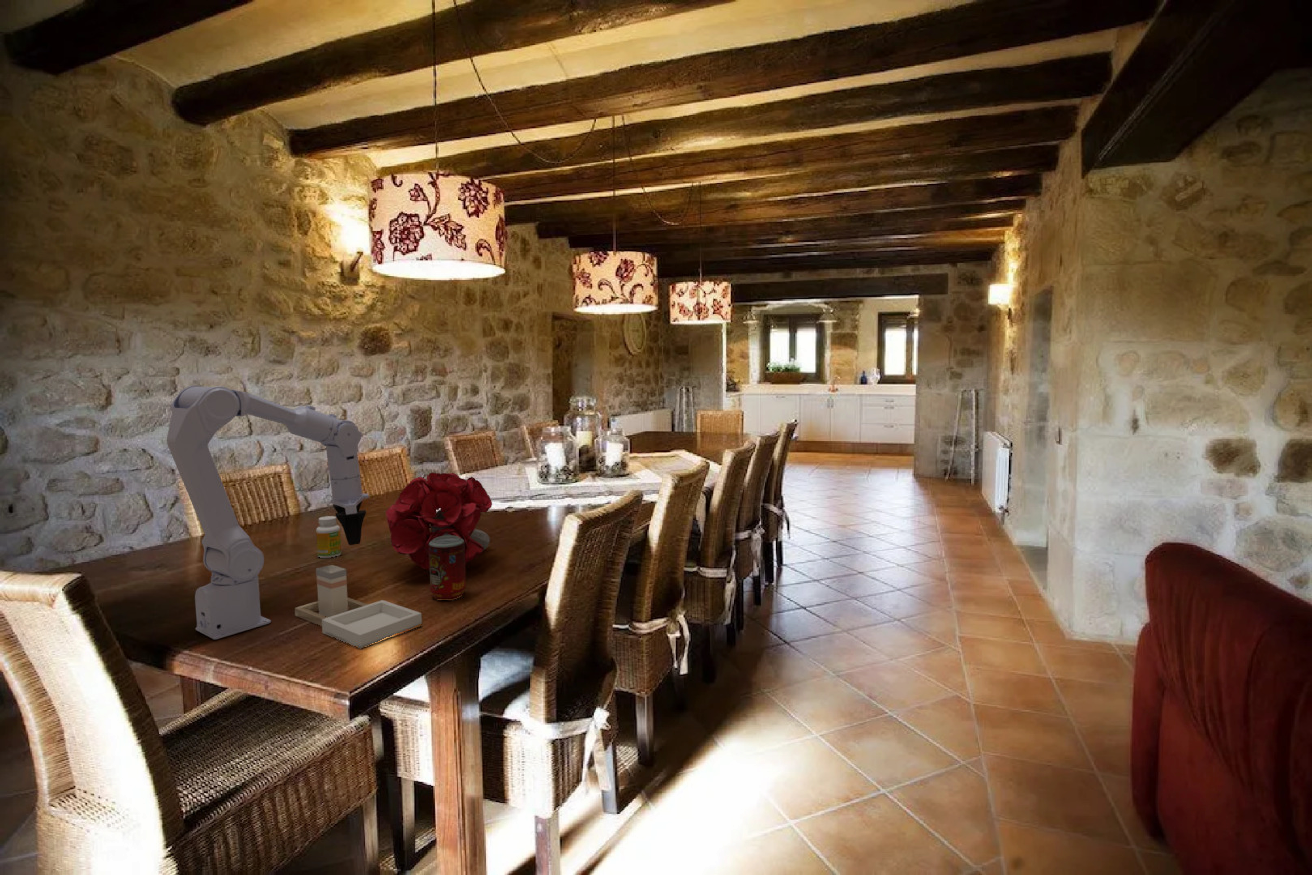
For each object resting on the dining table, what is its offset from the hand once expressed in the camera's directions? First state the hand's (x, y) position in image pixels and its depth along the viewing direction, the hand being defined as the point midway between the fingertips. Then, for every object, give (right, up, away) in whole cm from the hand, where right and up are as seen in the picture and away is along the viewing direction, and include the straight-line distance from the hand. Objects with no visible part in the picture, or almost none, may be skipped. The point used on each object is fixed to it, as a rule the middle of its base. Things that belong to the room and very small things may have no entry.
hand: (352, 539), depth 139 cm
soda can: (+21, -12, -3) cm, 24 cm away
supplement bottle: (-18, -8, +26) cm, 33 cm away
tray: (+13, -13, -20) cm, 27 cm away
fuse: (+2, -13, -13) cm, 18 cm away
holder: (+2, -12, -13) cm, 18 cm away
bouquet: (+15, -9, +18) cm, 25 cm away
